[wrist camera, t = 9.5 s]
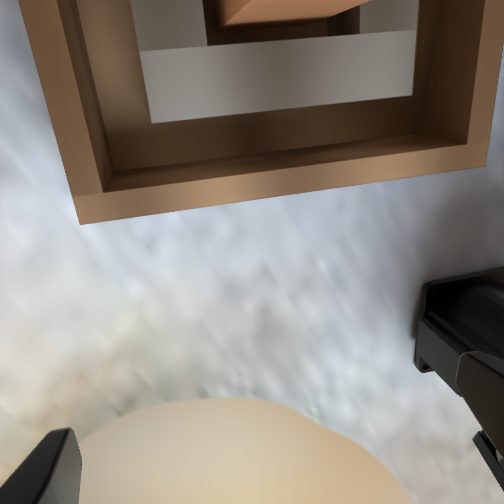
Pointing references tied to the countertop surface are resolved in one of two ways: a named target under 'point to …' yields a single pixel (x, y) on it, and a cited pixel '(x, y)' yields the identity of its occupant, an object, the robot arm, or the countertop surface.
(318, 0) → the block
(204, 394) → the countertop surface
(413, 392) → the countertop surface
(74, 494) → the robot arm
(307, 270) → the countertop surface
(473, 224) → the countertop surface
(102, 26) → the tray
